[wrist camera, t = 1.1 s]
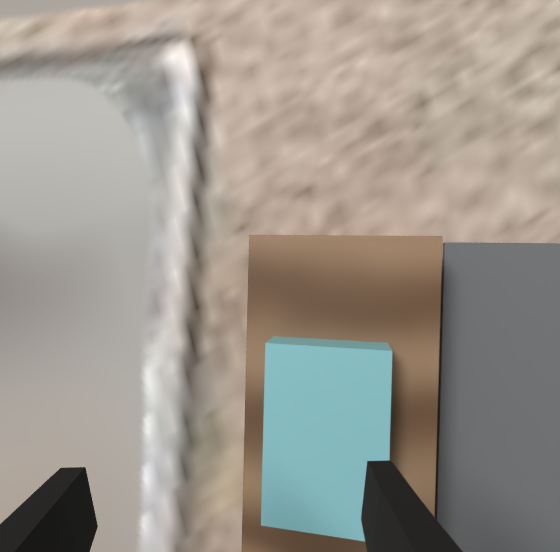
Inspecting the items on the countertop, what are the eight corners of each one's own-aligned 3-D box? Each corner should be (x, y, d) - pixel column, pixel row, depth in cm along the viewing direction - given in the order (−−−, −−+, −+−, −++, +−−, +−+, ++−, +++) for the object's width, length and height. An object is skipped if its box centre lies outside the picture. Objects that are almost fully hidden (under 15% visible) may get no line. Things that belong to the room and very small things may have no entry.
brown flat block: (416, 569, 22) (430, 632, 18) (257, 543, 24) (240, 595, 20) (425, 242, 22) (442, 236, 18) (265, 241, 24) (249, 234, 20)
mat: (665, 610, 20) (671, 616, 20) (433, 572, 22) (435, 577, 22) (678, 245, 20) (684, 244, 19) (443, 243, 22) (444, 242, 22)
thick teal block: (382, 516, 19) (387, 544, 17) (269, 500, 20) (260, 525, 18) (387, 342, 19) (392, 350, 17) (273, 336, 20) (265, 343, 18)
